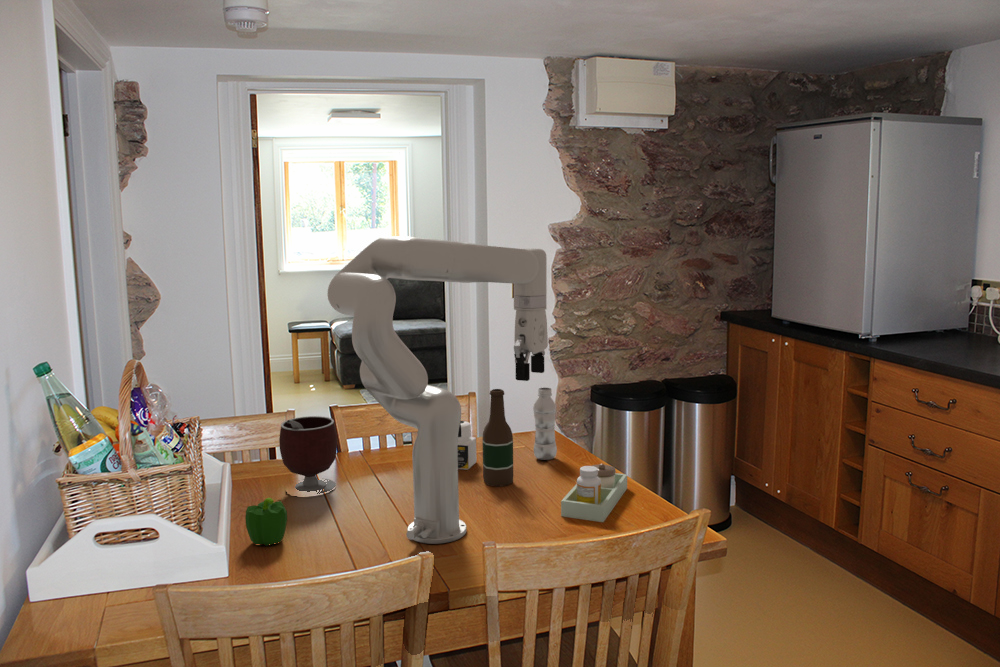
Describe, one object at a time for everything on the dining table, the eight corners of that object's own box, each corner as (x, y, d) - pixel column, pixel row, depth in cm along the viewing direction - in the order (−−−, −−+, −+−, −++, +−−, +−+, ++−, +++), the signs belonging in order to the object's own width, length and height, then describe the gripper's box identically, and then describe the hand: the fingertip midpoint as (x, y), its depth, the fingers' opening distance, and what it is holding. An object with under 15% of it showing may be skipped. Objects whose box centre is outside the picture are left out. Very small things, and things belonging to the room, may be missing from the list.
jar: (611, 500, 176) (611, 469, 175) (585, 496, 179) (585, 466, 178) (618, 491, 182) (618, 461, 181) (592, 487, 185) (592, 458, 184)
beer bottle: (514, 477, 196) (513, 386, 193) (512, 487, 188) (511, 393, 185) (485, 476, 197) (483, 386, 193) (481, 486, 189) (479, 393, 186)
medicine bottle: (443, 468, 204) (442, 424, 202) (452, 460, 211) (451, 418, 209) (468, 470, 202) (467, 426, 200) (476, 462, 209) (476, 419, 207)
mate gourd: (301, 477, 198) (297, 403, 195) (348, 482, 194) (345, 406, 191) (267, 498, 183) (262, 418, 180) (318, 503, 179) (314, 421, 176)
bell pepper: (245, 538, 160) (242, 493, 159) (285, 531, 163) (282, 487, 162) (249, 553, 152) (246, 506, 151) (290, 546, 156) (288, 499, 154)
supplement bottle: (590, 503, 174) (590, 463, 173) (605, 510, 170) (606, 469, 168) (571, 508, 171) (571, 467, 170) (586, 516, 167) (587, 473, 166)
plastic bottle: (561, 457, 212) (561, 387, 209) (549, 464, 206) (549, 392, 203) (540, 454, 215) (540, 385, 212) (529, 460, 210) (528, 390, 207)
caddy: (603, 526, 164) (603, 506, 163) (561, 520, 167) (561, 500, 167) (627, 492, 184) (627, 474, 184) (588, 487, 188) (589, 469, 187)
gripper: (532, 307, 163) (532, 384, 166) (557, 299, 179) (557, 370, 182) (500, 306, 166) (500, 382, 169) (528, 298, 182) (528, 368, 185)
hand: (530, 376), depth 175 cm, fingers open, 9 cm apart
